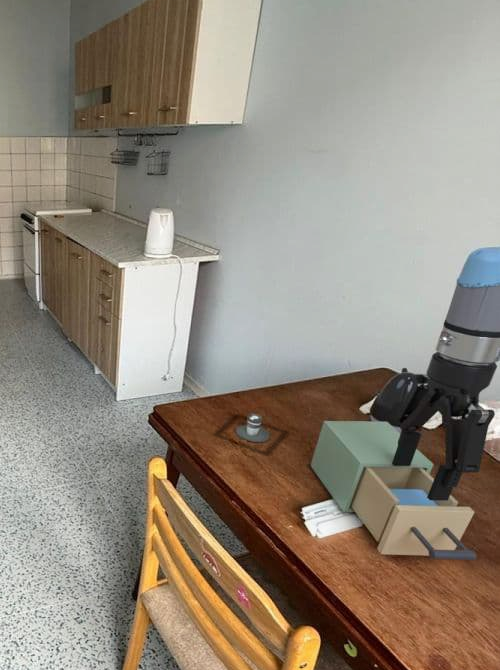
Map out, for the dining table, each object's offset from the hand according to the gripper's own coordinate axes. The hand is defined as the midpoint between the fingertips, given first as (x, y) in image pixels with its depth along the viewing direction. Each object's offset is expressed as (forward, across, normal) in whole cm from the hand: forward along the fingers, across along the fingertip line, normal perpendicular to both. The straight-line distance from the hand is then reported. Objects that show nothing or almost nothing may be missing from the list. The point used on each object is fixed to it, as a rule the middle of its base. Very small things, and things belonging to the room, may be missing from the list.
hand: (418, 480), depth 80 cm
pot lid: (+11, -33, -15) cm, 38 cm away
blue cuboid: (+10, 0, -1) cm, 10 cm away
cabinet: (+11, -13, 0) cm, 17 cm away
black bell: (+11, -36, +19) cm, 42 cm away
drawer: (+11, +2, -1) cm, 11 cm away
